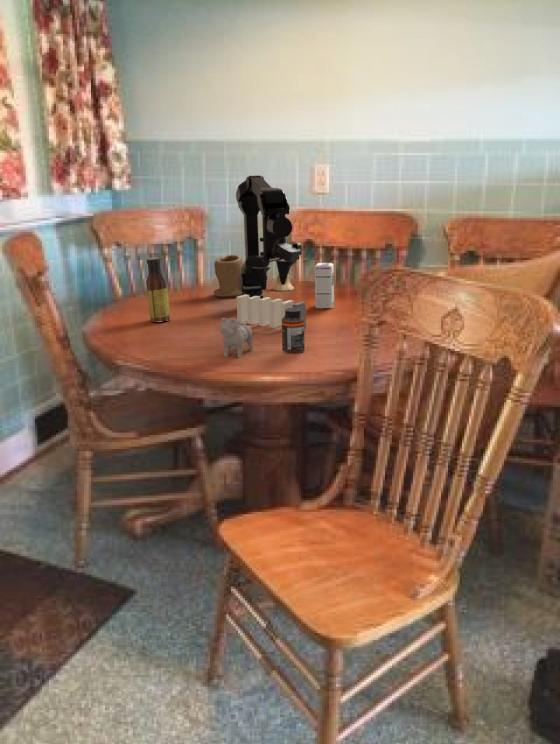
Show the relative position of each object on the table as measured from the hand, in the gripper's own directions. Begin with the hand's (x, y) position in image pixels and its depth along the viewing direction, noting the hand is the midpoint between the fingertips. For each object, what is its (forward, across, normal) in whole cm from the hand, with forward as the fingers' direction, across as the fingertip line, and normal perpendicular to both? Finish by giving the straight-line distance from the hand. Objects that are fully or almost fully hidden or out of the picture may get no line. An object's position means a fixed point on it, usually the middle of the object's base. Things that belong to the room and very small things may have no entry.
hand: (273, 287), depth 197 cm
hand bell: (+12, +47, +33) cm, 58 cm away
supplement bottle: (+12, -18, -21) cm, 30 cm away
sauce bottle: (+12, -16, +34) cm, 39 cm away
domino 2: (+12, 0, +8) cm, 14 cm away
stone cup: (+12, +26, +40) cm, 49 cm away
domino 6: (+12, 0, -9) cm, 15 cm away
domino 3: (+12, 0, +4) cm, 12 cm away
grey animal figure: (+12, -29, -10) cm, 33 cm away
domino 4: (+12, 0, -1) cm, 12 cm away
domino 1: (+12, -1, +12) cm, 17 cm away
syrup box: (+12, +30, +2) cm, 32 cm away
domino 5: (+12, 0, -5) cm, 13 cm away
